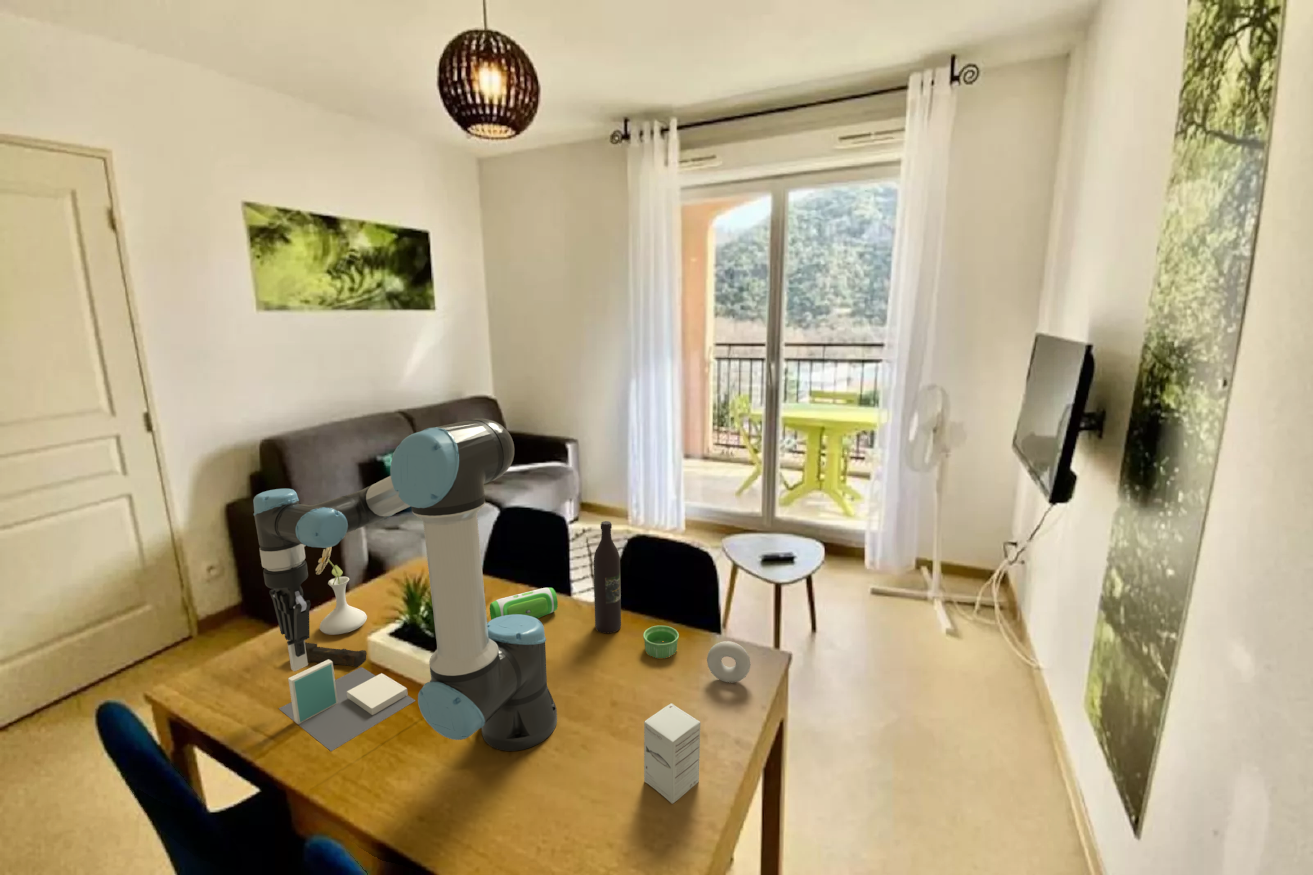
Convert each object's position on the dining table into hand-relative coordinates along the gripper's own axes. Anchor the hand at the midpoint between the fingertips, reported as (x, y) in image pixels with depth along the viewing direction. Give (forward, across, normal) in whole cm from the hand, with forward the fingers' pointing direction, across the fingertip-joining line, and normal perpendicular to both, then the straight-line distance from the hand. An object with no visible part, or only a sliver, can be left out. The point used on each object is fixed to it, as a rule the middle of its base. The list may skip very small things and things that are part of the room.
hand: (299, 667), depth 121 cm
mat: (+9, -8, -5) cm, 13 cm away
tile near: (+9, -5, 0) cm, 10 cm away
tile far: (+8, -6, -10) cm, 14 cm away
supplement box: (+10, -77, -27) cm, 82 cm away
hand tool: (+10, +12, -10) cm, 19 cm away
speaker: (+10, -12, -52) cm, 55 cm away
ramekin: (+10, -52, -61) cm, 81 cm away
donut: (+10, -72, -59) cm, 94 cm away
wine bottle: (+10, -34, -62) cm, 71 cm away
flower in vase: (+9, +25, -21) cm, 34 cm away
